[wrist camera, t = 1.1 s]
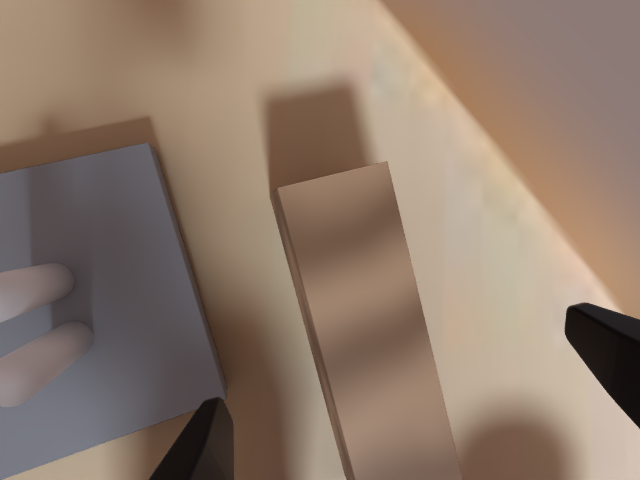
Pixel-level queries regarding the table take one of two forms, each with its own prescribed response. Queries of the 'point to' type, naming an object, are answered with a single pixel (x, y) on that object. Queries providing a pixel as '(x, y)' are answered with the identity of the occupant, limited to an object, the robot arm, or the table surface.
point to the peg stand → (95, 308)
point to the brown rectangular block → (366, 325)
